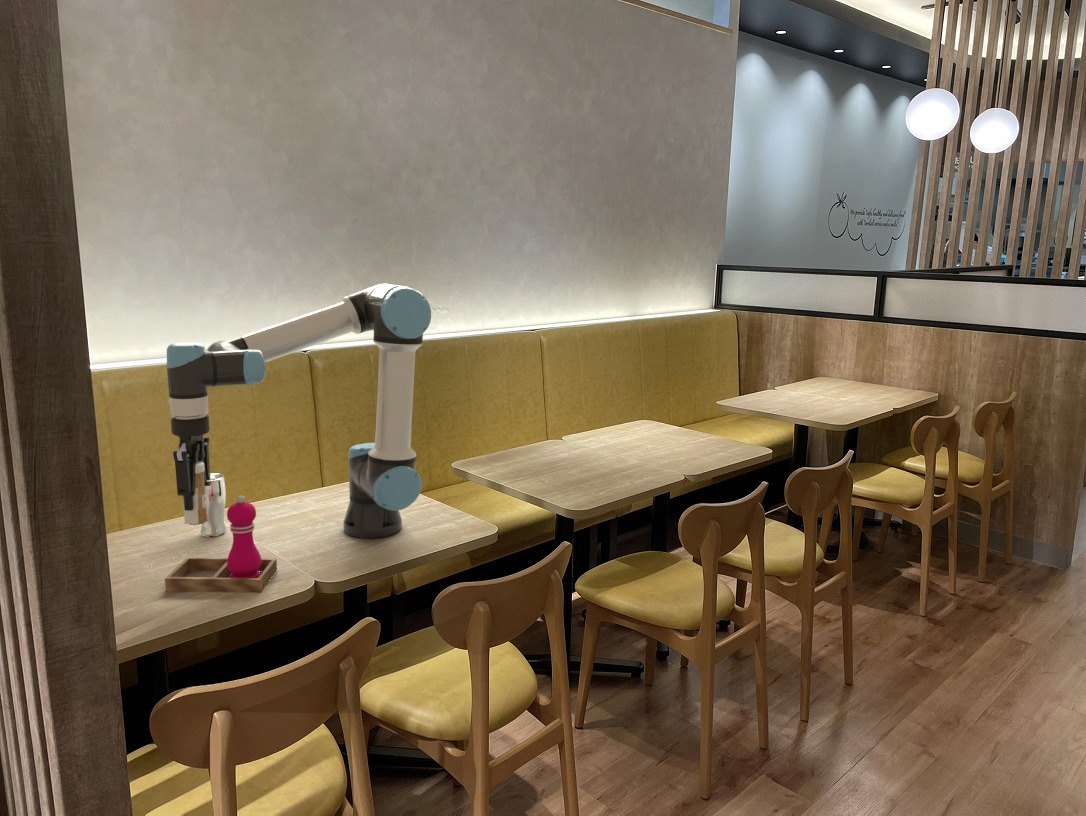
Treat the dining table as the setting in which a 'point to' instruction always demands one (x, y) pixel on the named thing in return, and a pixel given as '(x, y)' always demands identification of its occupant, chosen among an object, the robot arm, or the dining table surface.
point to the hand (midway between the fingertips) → (196, 518)
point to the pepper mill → (243, 541)
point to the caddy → (217, 577)
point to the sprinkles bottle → (200, 492)
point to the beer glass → (215, 506)
